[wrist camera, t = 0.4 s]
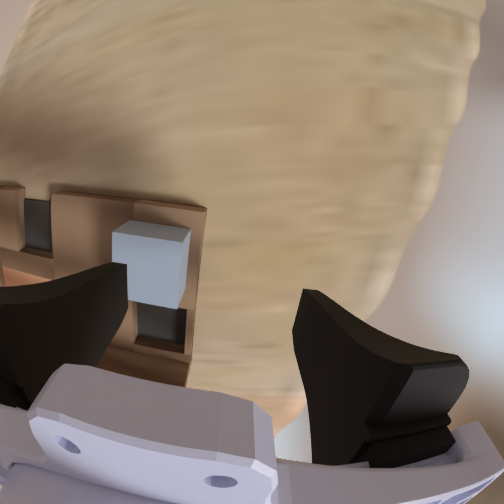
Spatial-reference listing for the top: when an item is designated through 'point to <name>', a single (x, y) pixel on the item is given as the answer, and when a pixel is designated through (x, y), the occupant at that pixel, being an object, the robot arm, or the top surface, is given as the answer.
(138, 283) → the block
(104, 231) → the board
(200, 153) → the top surface
